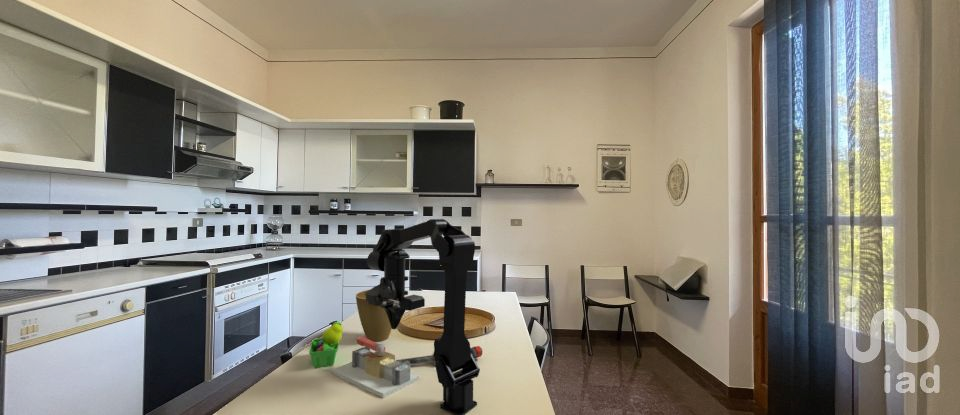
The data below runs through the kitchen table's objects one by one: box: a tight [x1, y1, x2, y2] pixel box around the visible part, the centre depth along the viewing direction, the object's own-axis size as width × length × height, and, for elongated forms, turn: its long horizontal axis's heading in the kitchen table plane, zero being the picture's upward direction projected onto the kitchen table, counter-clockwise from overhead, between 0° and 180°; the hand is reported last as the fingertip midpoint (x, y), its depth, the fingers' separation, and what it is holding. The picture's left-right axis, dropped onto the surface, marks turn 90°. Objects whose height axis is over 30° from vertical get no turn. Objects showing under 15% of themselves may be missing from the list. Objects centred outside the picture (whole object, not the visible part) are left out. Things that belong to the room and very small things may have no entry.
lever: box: [355, 336, 386, 356], centre depth 102 cm, size 11×2×2 cm, turn 50°
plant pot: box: [355, 289, 393, 343], centre depth 128 cm, size 15×15×16 cm
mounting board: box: [331, 361, 420, 399], centre depth 99 cm, size 22×12×1 cm, turn 54°
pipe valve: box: [351, 346, 411, 385], centre depth 99 cm, size 20×5×5 cm, turn 54°
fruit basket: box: [308, 321, 344, 369], centre depth 109 cm, size 11×9×11 cm
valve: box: [395, 345, 484, 365], centre depth 111 cm, size 6×26×15 cm
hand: (394, 329), depth 102 cm, fingers closed
